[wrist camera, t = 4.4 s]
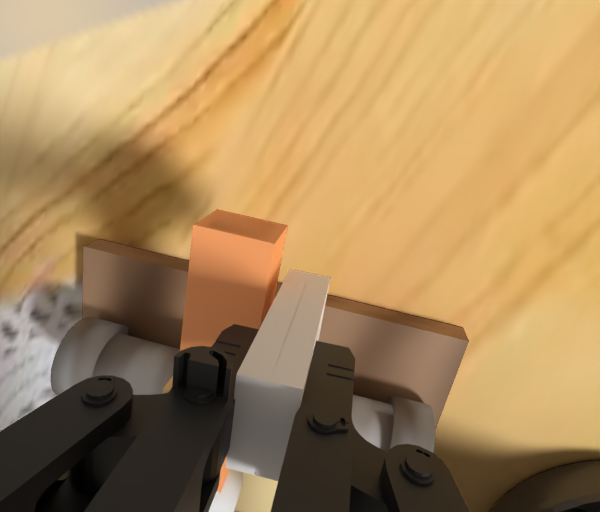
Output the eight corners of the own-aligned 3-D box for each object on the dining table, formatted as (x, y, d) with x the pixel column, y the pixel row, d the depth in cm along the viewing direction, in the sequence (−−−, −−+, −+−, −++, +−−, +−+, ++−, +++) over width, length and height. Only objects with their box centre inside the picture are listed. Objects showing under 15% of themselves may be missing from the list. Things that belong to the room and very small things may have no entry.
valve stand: (463, 327, 24) (506, 431, 16) (405, 484, 28) (417, 627, 20) (98, 239, 26) (-18, 294, 18) (94, 398, 30) (-2, 499, 22)
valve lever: (239, 503, 20) (224, 549, 18) (178, 485, 20) (155, 528, 18) (293, 226, 15) (280, 245, 13) (212, 208, 15) (187, 223, 13)
